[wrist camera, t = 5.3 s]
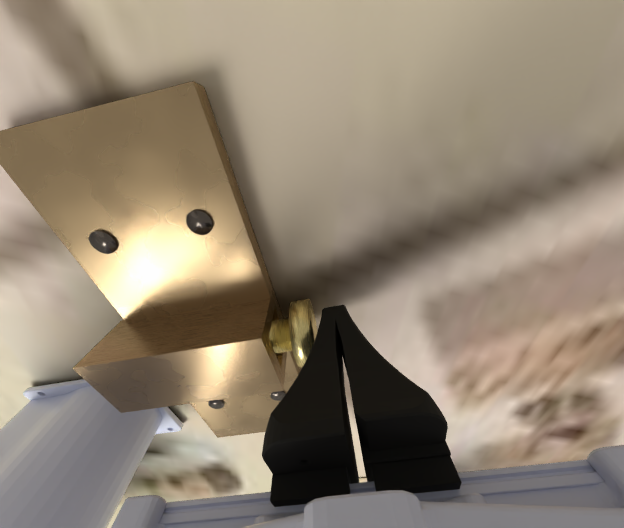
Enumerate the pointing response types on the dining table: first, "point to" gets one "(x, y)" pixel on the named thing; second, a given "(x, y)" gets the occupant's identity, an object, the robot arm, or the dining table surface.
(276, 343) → the pin
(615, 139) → the dining table surface
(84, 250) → the hinge
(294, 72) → the dining table surface
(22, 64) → the dining table surface
